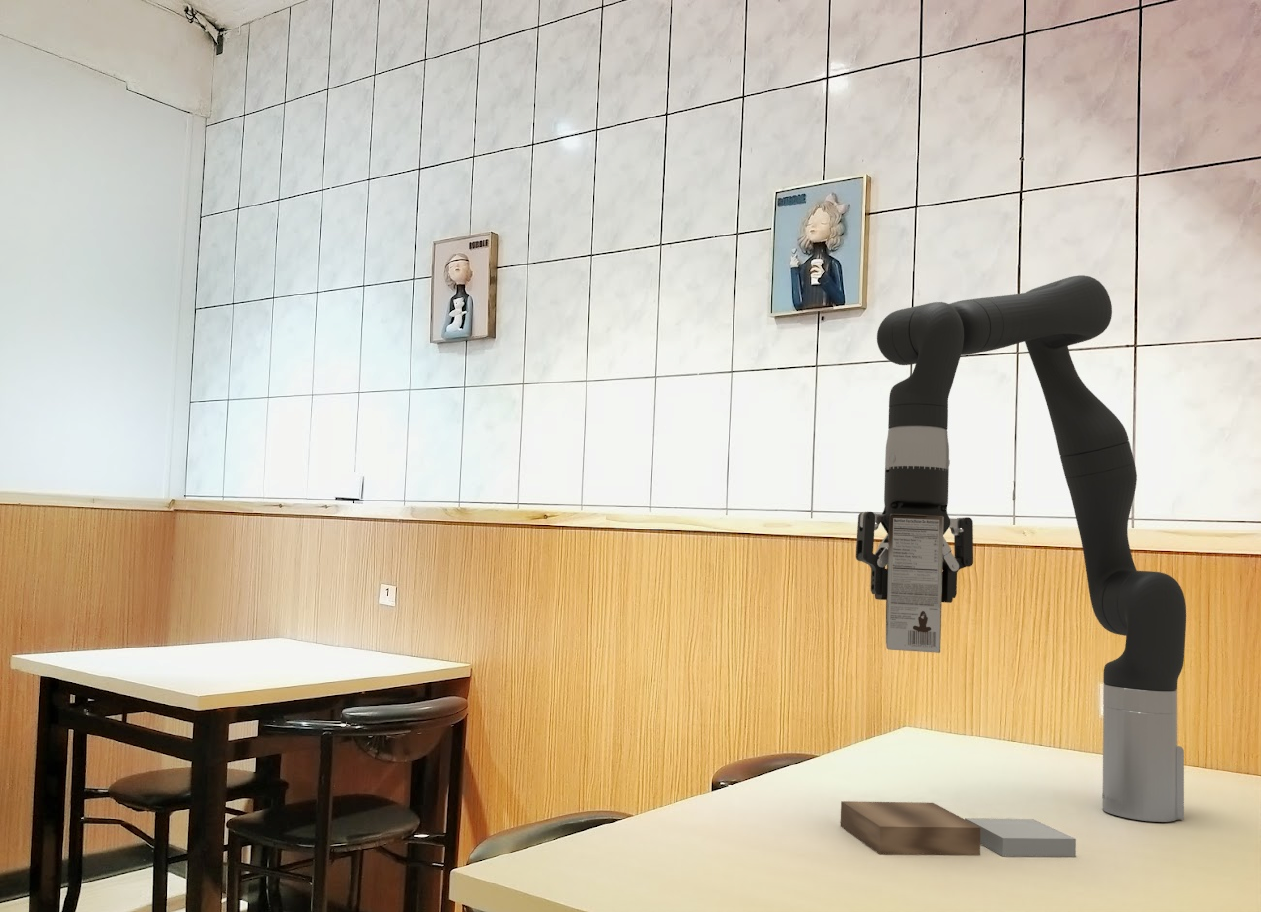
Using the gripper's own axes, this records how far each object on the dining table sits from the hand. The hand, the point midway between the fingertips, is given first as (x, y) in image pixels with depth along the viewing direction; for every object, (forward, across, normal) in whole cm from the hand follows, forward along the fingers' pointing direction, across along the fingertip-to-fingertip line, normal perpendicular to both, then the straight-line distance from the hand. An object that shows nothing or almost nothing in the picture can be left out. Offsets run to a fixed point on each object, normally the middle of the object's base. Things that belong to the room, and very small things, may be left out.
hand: (913, 600), depth 127 cm
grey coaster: (+28, -13, +2) cm, 31 cm away
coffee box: (+6, 0, 0) cm, 6 cm away
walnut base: (+28, 0, 0) cm, 28 cm away
